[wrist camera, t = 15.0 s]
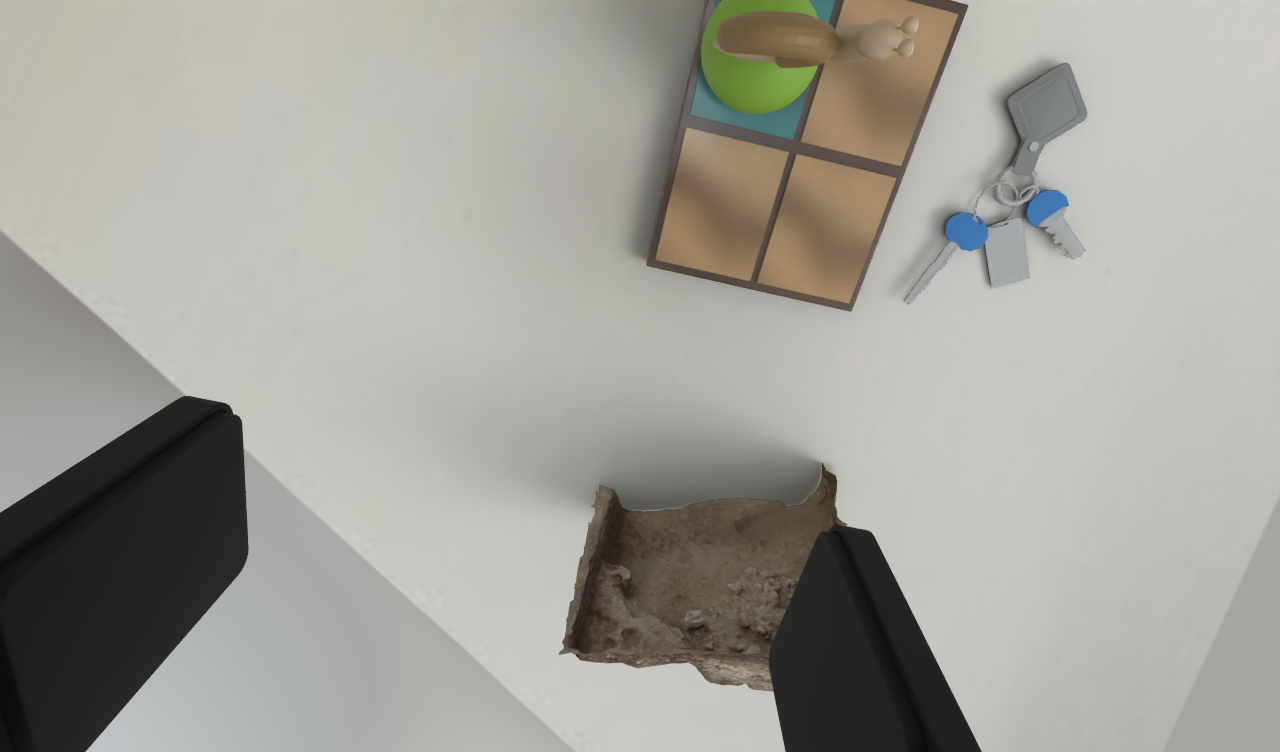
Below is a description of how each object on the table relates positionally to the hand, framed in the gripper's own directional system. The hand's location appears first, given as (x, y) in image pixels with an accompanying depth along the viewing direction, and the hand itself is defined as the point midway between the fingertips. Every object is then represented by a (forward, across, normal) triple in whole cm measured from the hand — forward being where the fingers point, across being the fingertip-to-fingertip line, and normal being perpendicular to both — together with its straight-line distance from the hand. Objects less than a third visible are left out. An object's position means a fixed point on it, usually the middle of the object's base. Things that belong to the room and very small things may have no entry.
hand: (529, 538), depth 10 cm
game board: (+28, -8, -6) cm, 30 cm away
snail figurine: (+27, -5, -10) cm, 29 cm away
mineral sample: (+28, -10, +17) cm, 35 cm away
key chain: (+28, -22, -6) cm, 36 cm away
